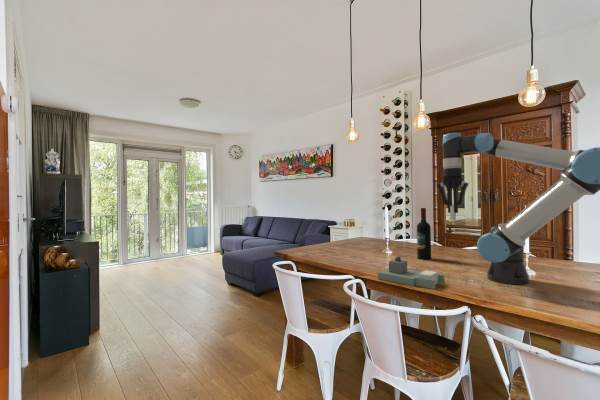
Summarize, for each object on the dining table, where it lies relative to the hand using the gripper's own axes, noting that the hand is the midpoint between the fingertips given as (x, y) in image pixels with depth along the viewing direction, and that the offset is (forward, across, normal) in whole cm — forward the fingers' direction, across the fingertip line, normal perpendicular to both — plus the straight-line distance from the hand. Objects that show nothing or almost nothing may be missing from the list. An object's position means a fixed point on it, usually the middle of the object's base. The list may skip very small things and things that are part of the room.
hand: (453, 220), depth 136 cm
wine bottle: (+27, +27, -32) cm, 50 cm away
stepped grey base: (+26, +13, +16) cm, 33 cm away
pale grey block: (+27, +5, +16) cm, 32 cm away
